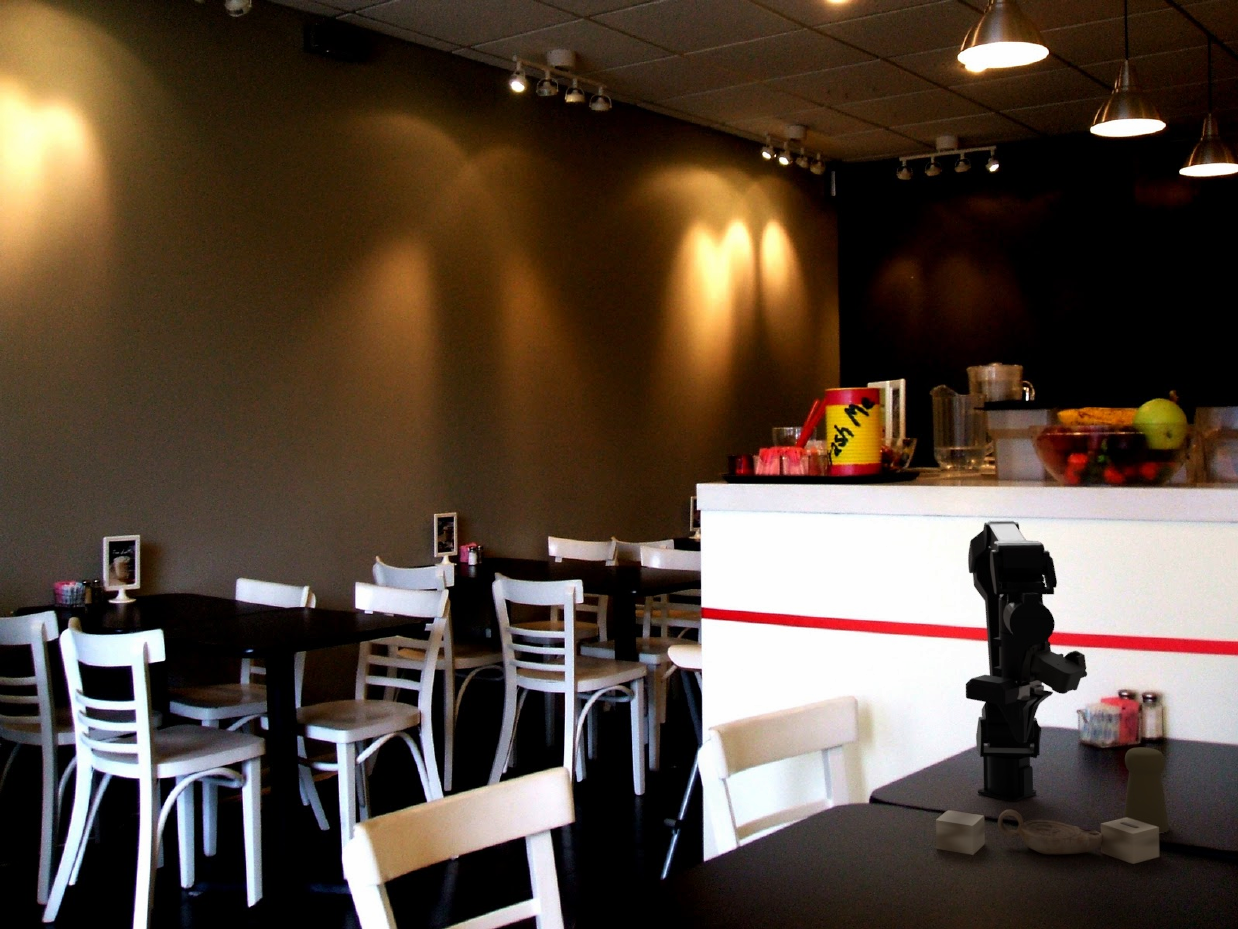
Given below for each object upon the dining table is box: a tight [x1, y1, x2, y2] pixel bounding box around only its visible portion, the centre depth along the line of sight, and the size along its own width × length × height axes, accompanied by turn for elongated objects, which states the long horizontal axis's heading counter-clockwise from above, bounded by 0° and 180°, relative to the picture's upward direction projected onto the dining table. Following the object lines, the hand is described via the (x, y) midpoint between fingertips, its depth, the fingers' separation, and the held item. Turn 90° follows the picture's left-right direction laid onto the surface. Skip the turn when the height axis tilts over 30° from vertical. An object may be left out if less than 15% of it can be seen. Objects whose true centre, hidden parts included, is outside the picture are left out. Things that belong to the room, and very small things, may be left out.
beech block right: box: [1100, 817, 1160, 865], centre depth 162 cm, size 5×5×4 cm
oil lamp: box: [997, 809, 1103, 855], centre depth 164 cm, size 13×8×5 cm, turn 65°
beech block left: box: [935, 809, 986, 856], centre depth 167 cm, size 5×5×4 cm
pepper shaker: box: [1122, 746, 1170, 833], centre depth 173 cm, size 6×6×11 cm
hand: (1021, 742), depth 173 cm, fingers closed
